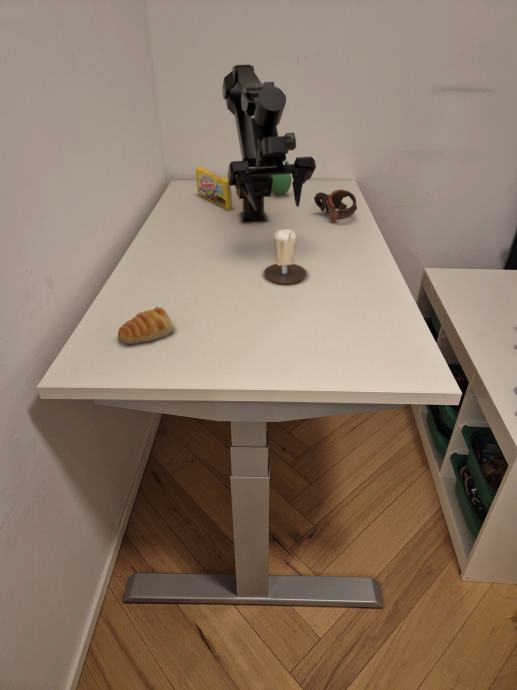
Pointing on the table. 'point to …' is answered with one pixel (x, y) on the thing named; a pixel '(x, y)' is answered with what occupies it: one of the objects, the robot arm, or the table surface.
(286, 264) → the milkshake
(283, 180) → the alien toy
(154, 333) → the pastry
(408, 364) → the table surface
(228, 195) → the candy box
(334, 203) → the brown coiled strap
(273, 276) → the coaster
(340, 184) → the table surface
